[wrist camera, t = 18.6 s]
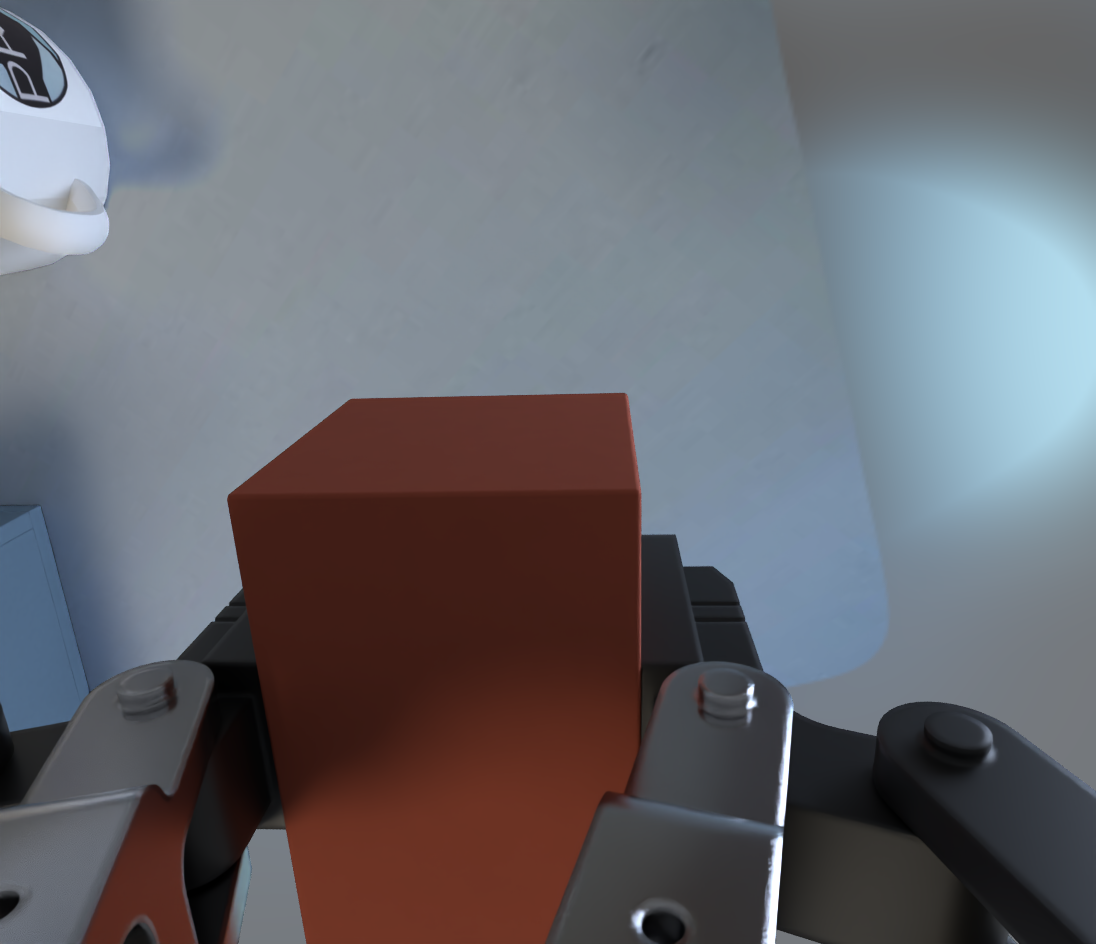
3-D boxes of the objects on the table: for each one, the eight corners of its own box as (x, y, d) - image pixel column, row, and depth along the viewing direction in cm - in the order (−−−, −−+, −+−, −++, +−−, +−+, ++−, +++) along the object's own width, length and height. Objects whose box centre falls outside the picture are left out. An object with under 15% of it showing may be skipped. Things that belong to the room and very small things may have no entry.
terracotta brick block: (629, 748, 13) (641, 971, 9) (390, 745, 13) (307, 961, 10) (627, 391, 11) (641, 490, 7) (348, 397, 11) (223, 495, 8)
